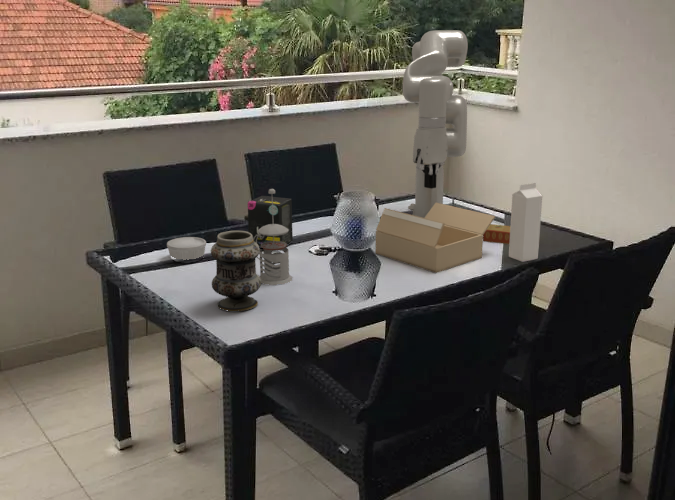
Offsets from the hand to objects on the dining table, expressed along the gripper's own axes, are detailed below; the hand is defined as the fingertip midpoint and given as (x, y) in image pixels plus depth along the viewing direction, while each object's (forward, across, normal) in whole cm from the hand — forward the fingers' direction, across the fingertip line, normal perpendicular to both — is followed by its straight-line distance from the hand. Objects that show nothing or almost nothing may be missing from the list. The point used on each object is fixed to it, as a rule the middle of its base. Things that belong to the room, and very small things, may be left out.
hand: (430, 187), depth 217 cm
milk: (+21, -19, +20) cm, 35 cm away
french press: (+21, +46, -15) cm, 53 cm away
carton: (+21, -31, +6) cm, 38 cm away
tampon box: (+21, +28, -40) cm, 53 cm away
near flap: (+10, +8, 0) cm, 13 cm away
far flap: (+11, -13, 0) cm, 17 cm away
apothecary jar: (+22, +64, -5) cm, 67 cm away
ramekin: (+21, +54, -46) cm, 74 cm away
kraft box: (+21, 0, 0) cm, 21 cm away
